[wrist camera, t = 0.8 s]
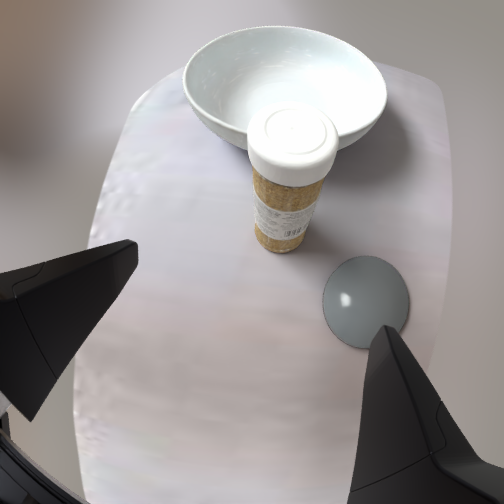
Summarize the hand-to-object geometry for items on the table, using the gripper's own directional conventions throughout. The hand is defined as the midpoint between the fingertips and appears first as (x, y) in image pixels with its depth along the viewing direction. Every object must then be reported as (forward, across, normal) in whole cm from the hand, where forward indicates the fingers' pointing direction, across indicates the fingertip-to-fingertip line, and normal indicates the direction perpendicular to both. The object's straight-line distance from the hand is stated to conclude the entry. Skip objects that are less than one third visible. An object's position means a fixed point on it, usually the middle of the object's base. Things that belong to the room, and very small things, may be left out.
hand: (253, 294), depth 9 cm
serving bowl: (+27, +5, -4) cm, 28 cm away
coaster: (+13, -8, +8) cm, 17 cm away
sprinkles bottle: (+16, +1, +6) cm, 17 cm away
